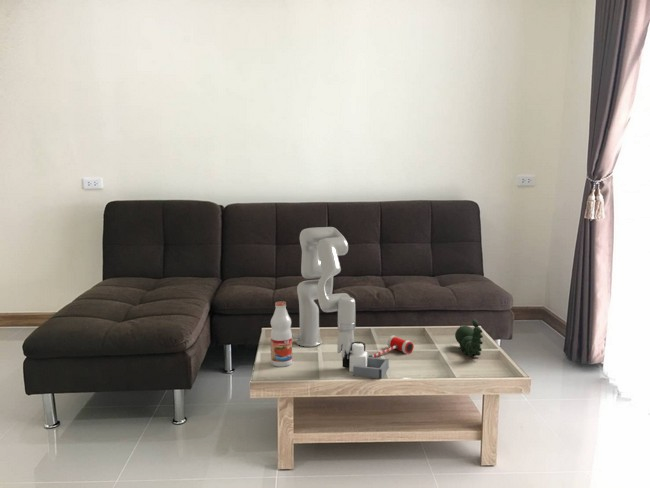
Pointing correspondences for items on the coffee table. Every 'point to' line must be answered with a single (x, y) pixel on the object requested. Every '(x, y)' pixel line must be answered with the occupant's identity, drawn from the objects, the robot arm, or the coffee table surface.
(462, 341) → the toy figurine
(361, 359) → the medicine bottle
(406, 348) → the toy hammer
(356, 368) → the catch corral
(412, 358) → the coffee table surface
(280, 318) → the fruit juice
